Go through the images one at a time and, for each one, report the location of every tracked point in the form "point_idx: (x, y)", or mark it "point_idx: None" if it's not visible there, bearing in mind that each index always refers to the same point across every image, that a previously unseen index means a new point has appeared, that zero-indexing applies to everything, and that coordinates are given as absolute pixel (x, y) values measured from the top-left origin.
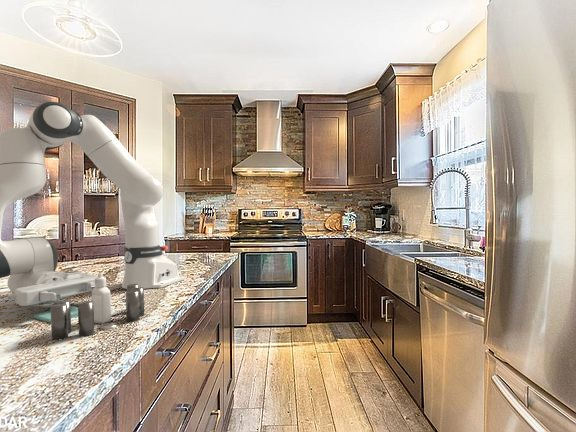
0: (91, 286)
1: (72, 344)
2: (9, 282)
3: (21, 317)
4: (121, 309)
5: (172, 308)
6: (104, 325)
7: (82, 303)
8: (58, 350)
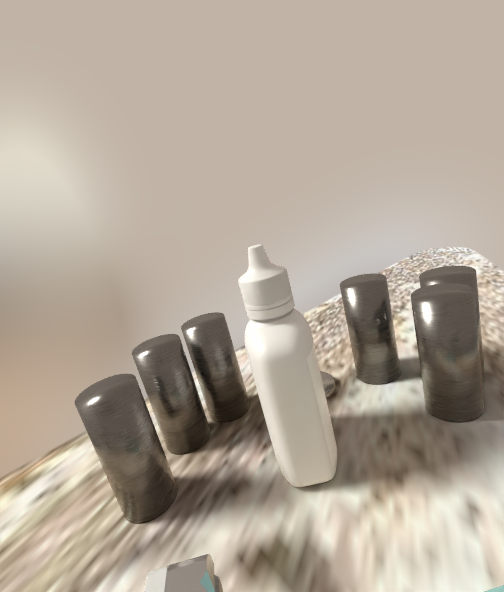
0: (209, 554)
1: (416, 339)
2: None
3: None
4: None
5: (82, 443)
6: None
7: (372, 278)
8: None
